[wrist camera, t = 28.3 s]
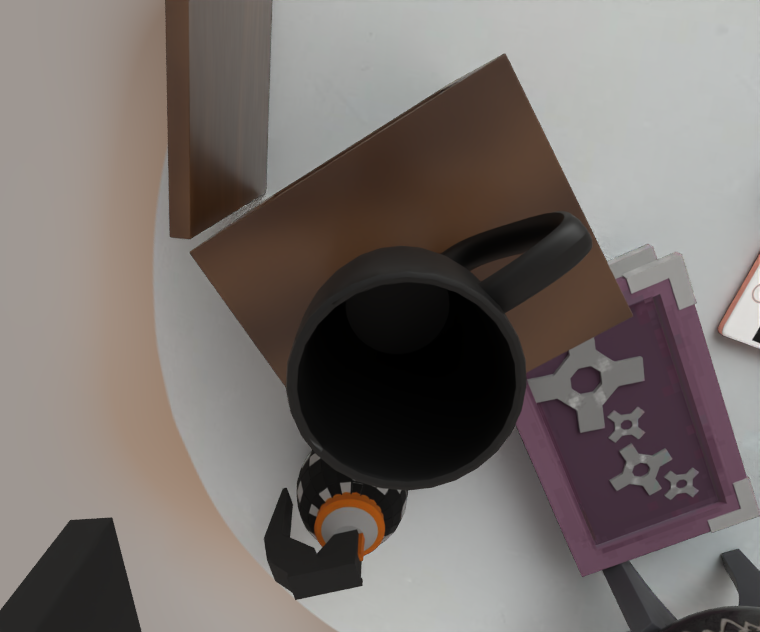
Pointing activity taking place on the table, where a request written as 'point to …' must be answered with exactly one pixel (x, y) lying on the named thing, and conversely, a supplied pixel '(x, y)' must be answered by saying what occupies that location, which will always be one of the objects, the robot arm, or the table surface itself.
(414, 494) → the table surface
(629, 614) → the planter
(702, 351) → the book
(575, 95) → the table surface
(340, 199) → the cupboard
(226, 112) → the cupboard door
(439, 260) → the mug
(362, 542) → the grenade
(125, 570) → the robot arm
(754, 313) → the cell phone
